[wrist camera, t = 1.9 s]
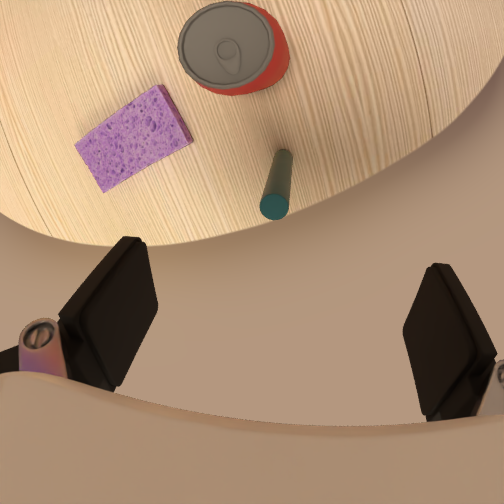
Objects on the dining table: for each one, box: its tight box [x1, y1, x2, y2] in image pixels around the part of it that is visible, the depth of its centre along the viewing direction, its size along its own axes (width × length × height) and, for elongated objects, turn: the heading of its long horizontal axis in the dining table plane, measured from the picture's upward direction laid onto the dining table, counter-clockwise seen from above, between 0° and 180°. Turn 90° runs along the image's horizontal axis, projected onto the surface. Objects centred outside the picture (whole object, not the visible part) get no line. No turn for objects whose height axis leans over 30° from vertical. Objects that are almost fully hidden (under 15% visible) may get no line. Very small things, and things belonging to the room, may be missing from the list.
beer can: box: [177, 1, 290, 96], centre depth 19 cm, size 7×7×12 cm
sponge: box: [74, 85, 193, 193], centre depth 29 cm, size 7×13×2 cm, turn 115°
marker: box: [260, 150, 293, 220], centre depth 24 cm, size 2×2×12 cm
